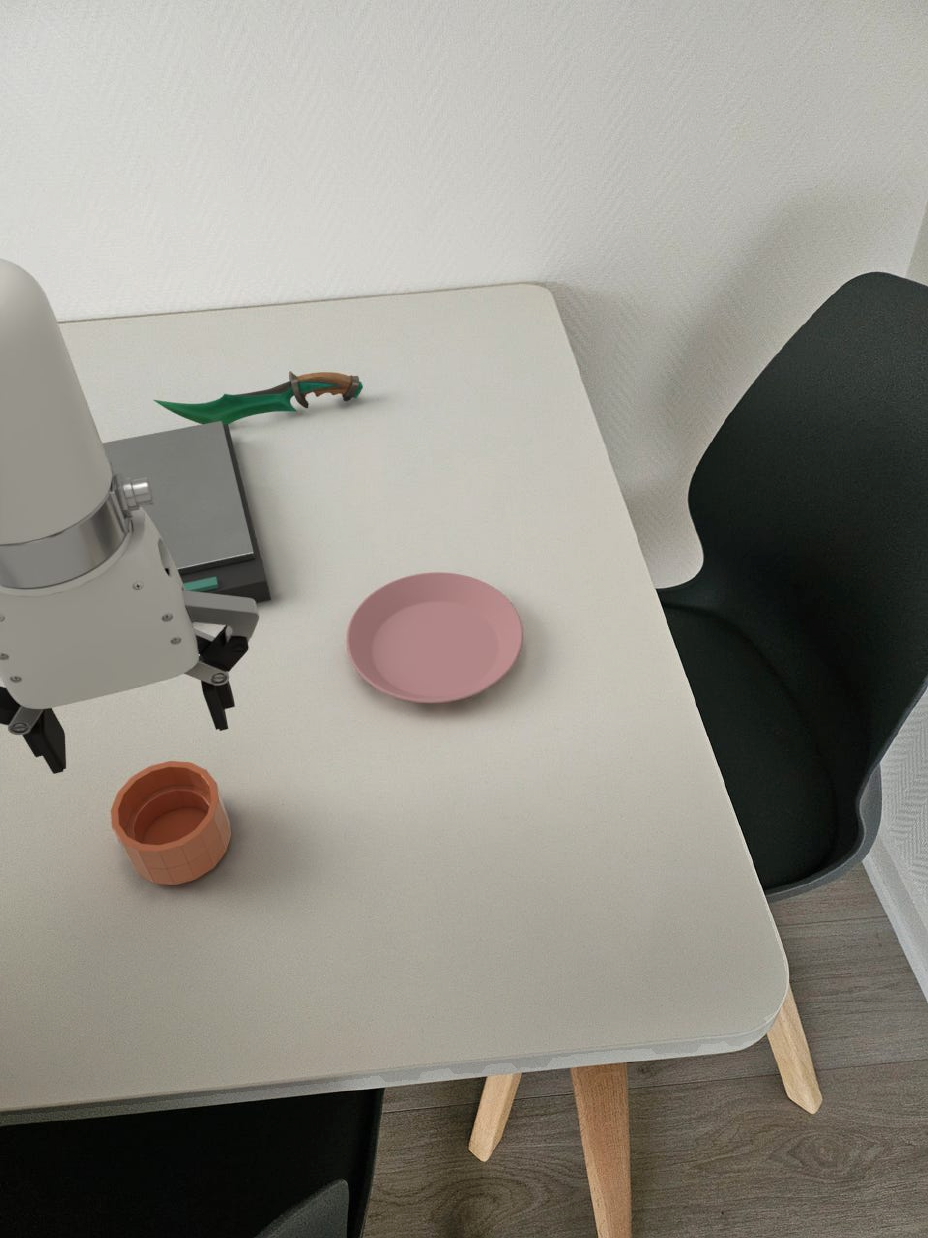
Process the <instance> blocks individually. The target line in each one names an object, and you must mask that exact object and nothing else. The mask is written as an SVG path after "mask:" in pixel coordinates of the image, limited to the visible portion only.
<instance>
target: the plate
mask: <svg viewBox="0 0 928 1238" xmlns="http://www.w3.org/2000/svg"><path fill="white" fill-rule="evenodd" d="M523 640H524V630H523V624H522V620H521V617H520V614H519V612H518V611H517V609H516V607H515V606H514V605H513V604H512V602H511V601H510V599H508V597H506V596H505V595H504V593H502V592H501V591H500V590H498V589H496V588H495V587H494V586H492V585H490V584H488V583H487V582H484V580H483V581H482V580H480V579H477V578H475V577H473V576H472V577H471V576H468V575H465V574H460V573H454V572H443V571H442V572H440V571H439V572H438V571H437V572H422V573H416V574H412V575H407V576H404V577H401V578H398V579H396V580H393V581H390V582H389V583H386V584H385V585H383V586H380V587H379V588H378V589H376V590H375V591H374V592H372V593H371V594H370V595H369V596H367V597H366V598H365V599H364V600H363V601H362V602H361V603H360V604H359V605H358V607H357V608H356V610H355V611H354V613H353V615H352V616H351V618H350V621H349V623H348V627H347V631H346V649H347V650H346V651H347V654H348V657H349V660H350V662H351V664H352V666H353V667H354V669H355V671H357V673H358V675H360V677H362V679H363V680H364V681H366V682H367V683H368V684H369V685H370V686H372V687H374V689H376V690H377V691H380V692H382V693H383V694H385V695H388V696H391V697H393V698H396V699H400V700H402V701H407V702H413V703H420V704H441V703H443V704H444V703H451V702H456V701H461V700H464V699H467V698H470V697H473V696H475V695H478V694H480V693H482V692H485V691H486V690H488V689H490V688H491V687H492V686H494V685H495V684H498V682H500V681H501V680H502V679H503V678H504V677H506V675H507V674H508V673H509V672H510V671H511V669H512V668H513V666H514V665H515V663H516V662H517V660H518V658H519V656H520V654H521V650H522V647H523V642H524V641H523Z"/></svg>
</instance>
